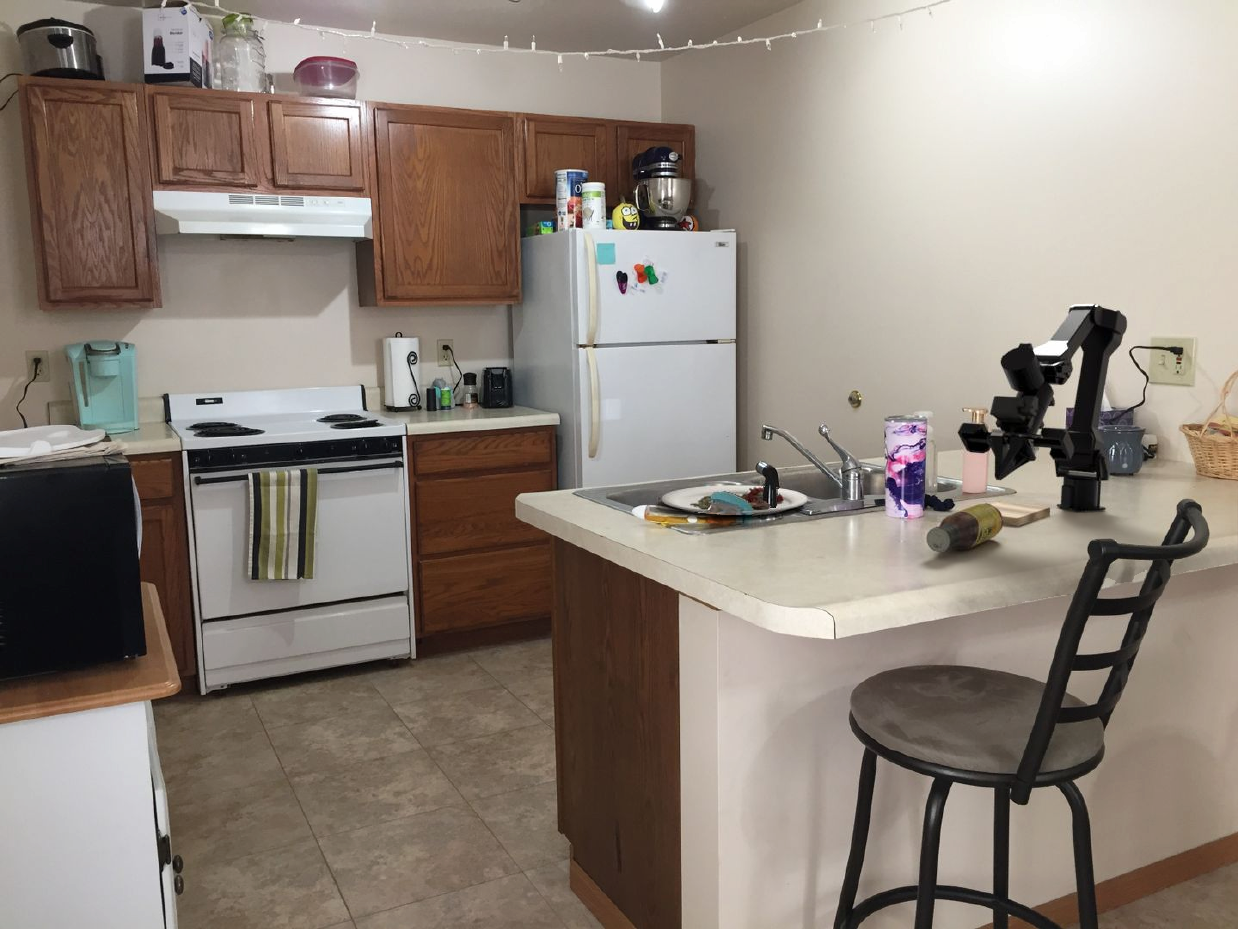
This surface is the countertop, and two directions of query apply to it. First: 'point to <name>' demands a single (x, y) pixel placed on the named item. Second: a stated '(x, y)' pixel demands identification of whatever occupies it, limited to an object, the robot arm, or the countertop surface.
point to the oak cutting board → (1020, 512)
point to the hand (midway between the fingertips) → (997, 478)
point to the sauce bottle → (966, 528)
